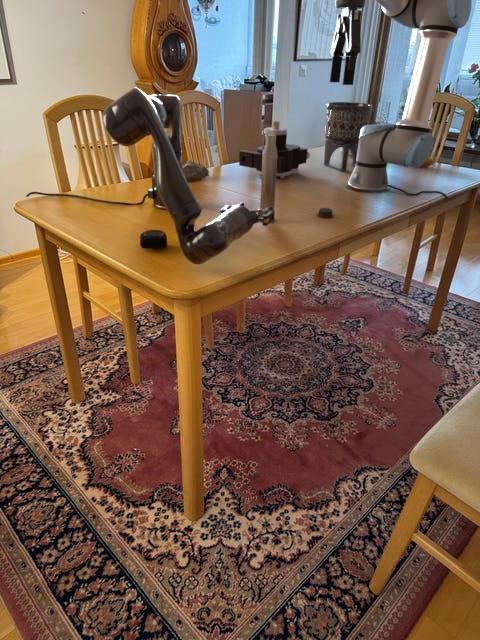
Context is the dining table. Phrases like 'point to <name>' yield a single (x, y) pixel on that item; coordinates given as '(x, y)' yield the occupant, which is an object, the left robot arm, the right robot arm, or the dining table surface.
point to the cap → (325, 212)
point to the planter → (345, 129)
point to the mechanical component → (286, 153)
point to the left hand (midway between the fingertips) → (256, 207)
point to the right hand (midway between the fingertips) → (340, 83)
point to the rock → (194, 171)
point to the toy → (427, 163)
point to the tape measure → (153, 239)
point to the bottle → (268, 173)
